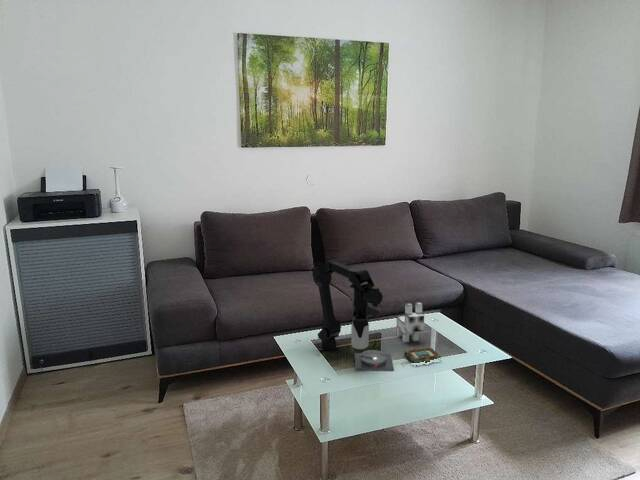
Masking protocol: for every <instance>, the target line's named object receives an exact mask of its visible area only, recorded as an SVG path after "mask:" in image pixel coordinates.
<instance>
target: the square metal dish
mask: <svg viewBox="0 0 640 480" xmlns="http://www.w3.org/2000/svg"><path fill="white" fill-rule="evenodd" d="M393 363H394V362H393V358H392V355H391V353H385V352H384V351H381V350H378V349H377V350H376V349H367V350H364V351H363V352H354V365H355V366H354V367H355V371H363V372H364V371H365V372H366V371H374V372H375V371H376V372H377V371H378V372H380V371H381V372H385V371H386V372H394V371H395V367H394V364H393Z"/></svg>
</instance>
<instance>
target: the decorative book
mask: <svg viewBox="0 0 640 480" xmlns="http://www.w3.org/2000/svg"><path fill="white" fill-rule="evenodd" d="M403 355H404V358H405V360H406V361H403V362H402V363H401V364H402V365H404V364H405V365H408V363H410V364H411V363H420V362H424V361H425V363H427V362H430V360H434V359H441V358H442V355H441V354H440V353H438V352H437V351H436V350H434V348H432V347H425V348H424V347H423V348H420V347H417V348H414V349H406V350H404V353H403Z"/></svg>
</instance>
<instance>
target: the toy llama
mask: <svg viewBox="0 0 640 480" xmlns="http://www.w3.org/2000/svg"><path fill="white" fill-rule="evenodd" d="M404 305H405V306H404V315H398V316H396V336H397V337H402V338H401V341H402V342H403V343H404V344H407V343H409V342H410V336H411V340H412V341H413V342H419V340H420V332H424V331H425V315H424V314H423V303H422V302H421V301H420V302H419V301H417V302H414V312H413V304H412V303H411V302H409V303H408V302H406V303H405V304H404Z"/></svg>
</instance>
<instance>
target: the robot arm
mask: <svg viewBox="0 0 640 480" xmlns="http://www.w3.org/2000/svg"><path fill="white" fill-rule="evenodd" d="M333 273H336V274H338V275H341V276H342V277H345V278H347V280H348V281H349V282H350V283H351V284H350V285H349V288H351V289H353V307H352V315H353V318H352V322H353V326H354V327H355V330H356V332H357V334H358V337H359V338H362V334H363V329H364V327H365V326H368V323H369V318H368V317H367V316H368V315H370V316H373V317H375V318H379V316H380V313H381V308H380V306H379V305H380V304H381V303H382V301H383V298H384V297H383V293H382V292H381V291H380V288H378V287H375V283H374V281H373V279H372V277H371V275H370V273H369V271H368V270H367V269H365V268H354V267H352V266H348V265H346V264H344V263H341V262H339V261H337V260H336V259H331V260H327V261H325V262H324V263H323V264H322V265H319V266H317V267H316V268H314V269H313V270H312V273H311V274H312V278H313V282H314V283H315V285H316V286H317V287H318V292H319V297H320V304H321V310H322V317H323V320H322V323H321V330H320V331H319V332H318V333H317V337H318V340H321V349H325V350H324V351H327V350H328V351H330V352H331V351H334V350H337V346H338V345H337V342H338V341H337V339H336V338H338V337H339V336H340V333H341V331H342V325H341V320H340V319H338V318H336V316H335V312H334V306H333V299H332V294H331V287H330V286H331V282H332V280H333V279H332V274H333ZM328 351H327V352H328Z"/></svg>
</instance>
